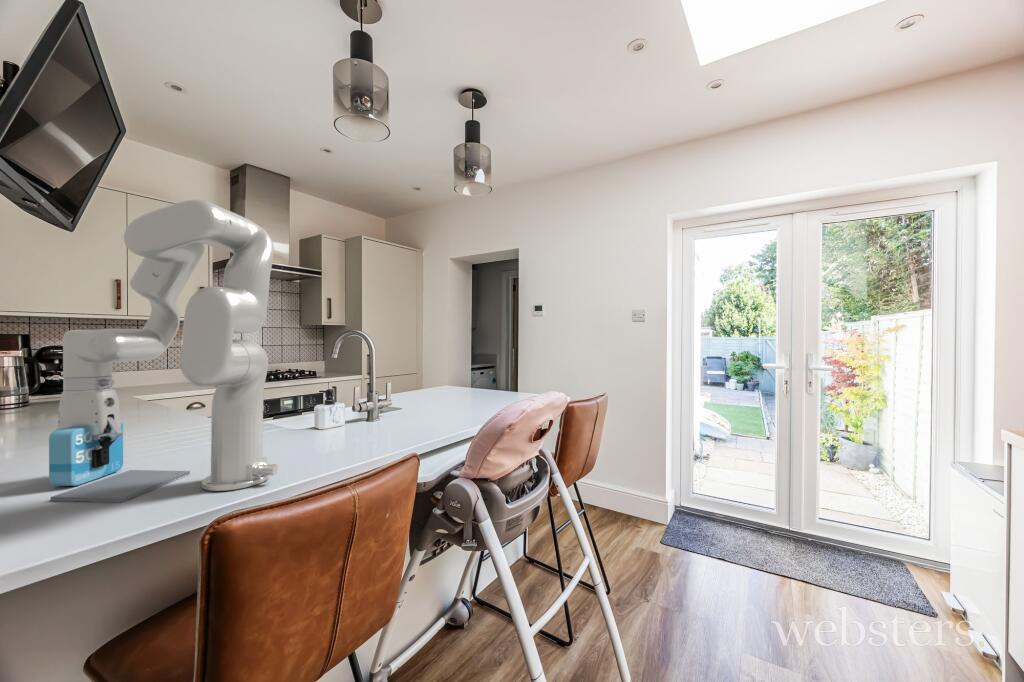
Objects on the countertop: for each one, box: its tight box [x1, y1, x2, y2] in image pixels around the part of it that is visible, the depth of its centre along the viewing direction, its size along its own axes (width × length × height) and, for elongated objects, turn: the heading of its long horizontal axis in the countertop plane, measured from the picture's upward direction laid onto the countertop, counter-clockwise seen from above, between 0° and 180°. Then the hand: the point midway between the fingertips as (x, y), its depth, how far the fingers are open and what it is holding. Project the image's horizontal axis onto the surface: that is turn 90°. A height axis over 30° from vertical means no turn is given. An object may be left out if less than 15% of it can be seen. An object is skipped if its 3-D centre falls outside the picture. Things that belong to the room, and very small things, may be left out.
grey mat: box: [50, 469, 191, 503], centre depth 85 cm, size 14×16×1 cm
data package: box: [48, 421, 124, 487], centre depth 89 cm, size 12×4×12 cm, turn 3°
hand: (88, 465), depth 89 cm, fingers closed on data package, 4 cm apart
